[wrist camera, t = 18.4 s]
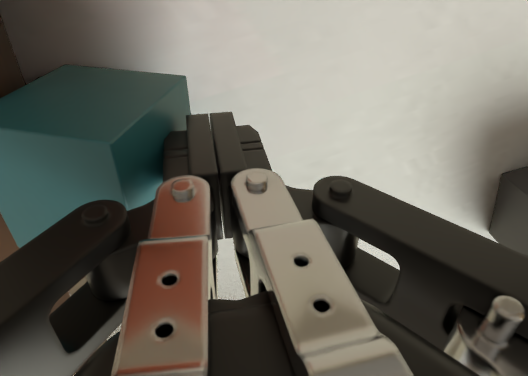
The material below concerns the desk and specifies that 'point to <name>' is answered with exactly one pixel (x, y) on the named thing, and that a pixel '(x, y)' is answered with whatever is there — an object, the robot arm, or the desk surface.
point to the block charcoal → (512, 211)
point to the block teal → (84, 142)
